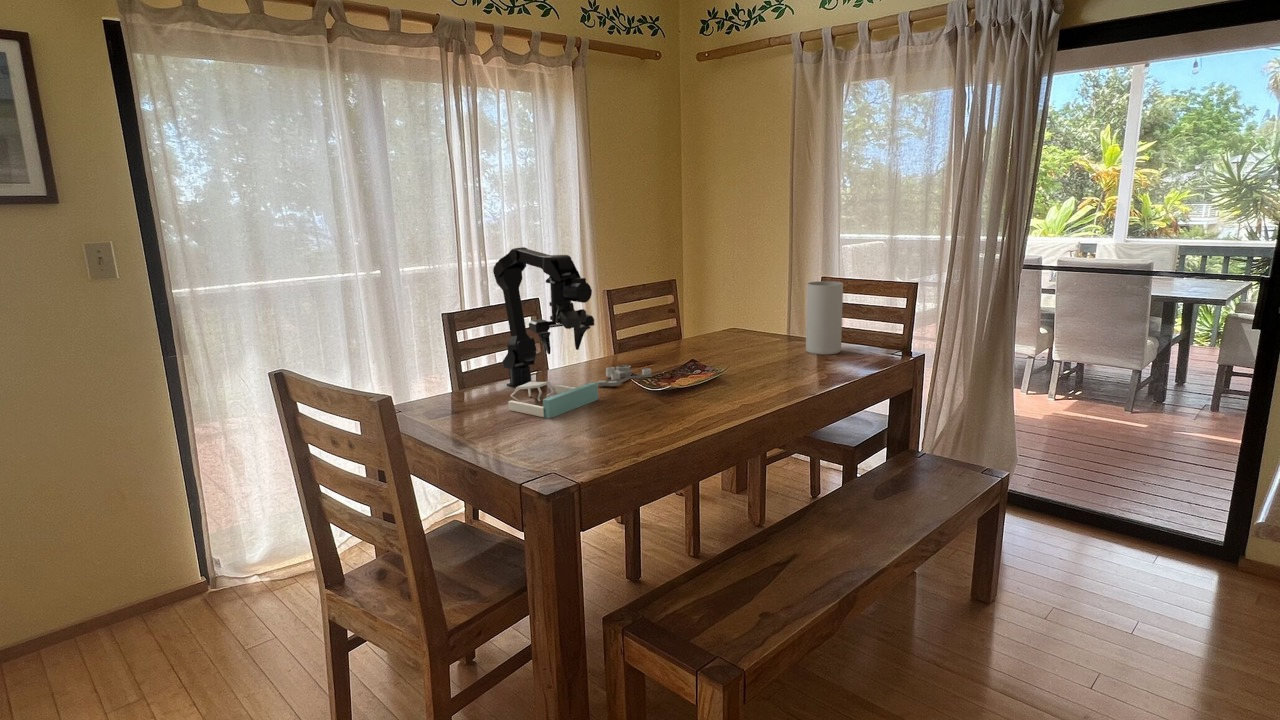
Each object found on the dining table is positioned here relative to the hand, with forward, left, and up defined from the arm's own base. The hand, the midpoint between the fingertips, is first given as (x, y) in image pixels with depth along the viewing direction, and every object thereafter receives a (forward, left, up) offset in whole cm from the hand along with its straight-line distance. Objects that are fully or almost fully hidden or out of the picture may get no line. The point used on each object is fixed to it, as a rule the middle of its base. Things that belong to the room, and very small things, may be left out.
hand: (563, 351), depth 208 cm
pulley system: (+4, +27, -14) cm, 31 cm away
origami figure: (-7, -8, -14) cm, 18 cm away
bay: (+3, -8, -14) cm, 16 cm away
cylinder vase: (+43, +93, -14) cm, 103 cm away
